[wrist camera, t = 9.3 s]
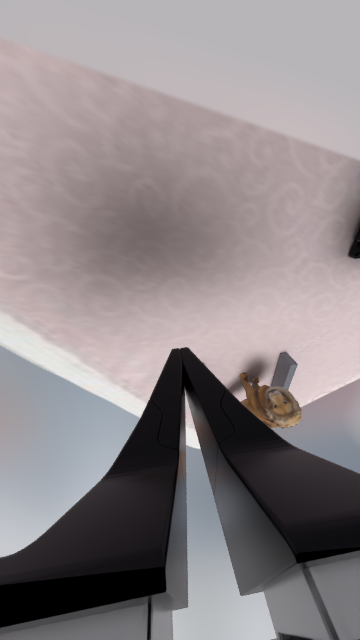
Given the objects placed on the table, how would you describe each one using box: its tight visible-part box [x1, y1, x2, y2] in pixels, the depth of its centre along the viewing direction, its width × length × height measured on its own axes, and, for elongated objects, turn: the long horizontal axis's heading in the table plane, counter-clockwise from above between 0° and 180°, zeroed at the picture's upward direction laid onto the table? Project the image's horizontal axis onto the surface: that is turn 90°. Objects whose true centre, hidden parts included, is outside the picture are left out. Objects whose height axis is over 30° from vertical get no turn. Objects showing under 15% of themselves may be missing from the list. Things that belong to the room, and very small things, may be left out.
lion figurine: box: [240, 373, 301, 428], centre depth 26 cm, size 15×5×9 cm, turn 144°
